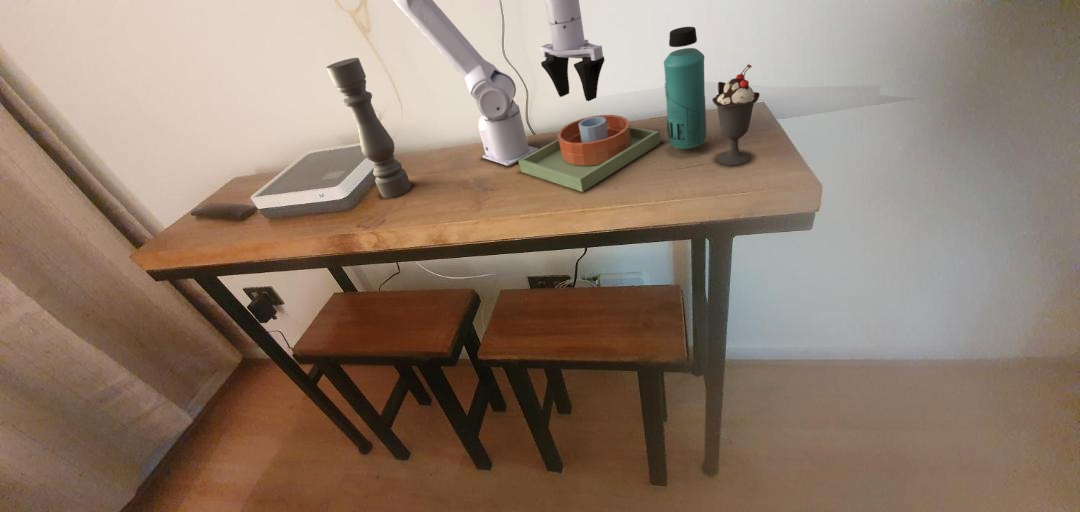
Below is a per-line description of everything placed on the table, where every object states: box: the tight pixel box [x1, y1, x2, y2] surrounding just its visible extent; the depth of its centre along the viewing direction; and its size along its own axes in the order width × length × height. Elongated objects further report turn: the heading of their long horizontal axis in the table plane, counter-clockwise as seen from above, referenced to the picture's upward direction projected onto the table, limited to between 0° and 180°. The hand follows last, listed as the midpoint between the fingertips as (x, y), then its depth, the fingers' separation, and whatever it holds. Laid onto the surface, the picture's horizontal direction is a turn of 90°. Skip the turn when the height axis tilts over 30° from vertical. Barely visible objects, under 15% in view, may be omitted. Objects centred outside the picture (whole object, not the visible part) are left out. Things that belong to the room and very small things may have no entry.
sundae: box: [711, 64, 761, 166], centre depth 74 cm, size 7×7×15 cm
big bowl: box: [557, 114, 632, 166], centre depth 90 cm, size 13×13×5 cm
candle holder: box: [326, 57, 412, 199], centre depth 90 cm, size 6×6×25 cm
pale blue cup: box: [579, 116, 609, 143], centre depth 89 cm, size 5×5×6 cm
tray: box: [518, 126, 661, 193], centre depth 90 cm, size 17×20×2 cm
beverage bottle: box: [663, 26, 708, 150], centre depth 79 cm, size 6×7×20 cm
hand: (577, 97), depth 91 cm, fingers open, 7 cm apart
